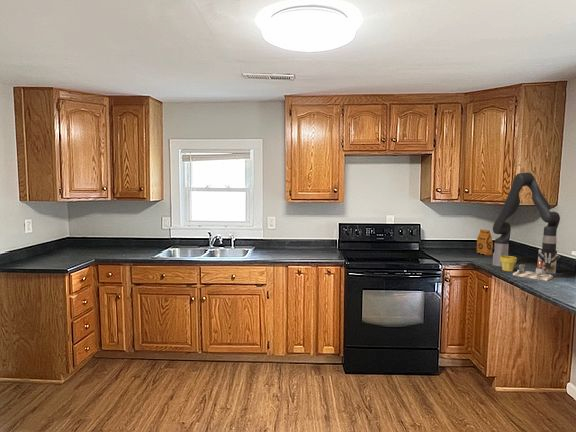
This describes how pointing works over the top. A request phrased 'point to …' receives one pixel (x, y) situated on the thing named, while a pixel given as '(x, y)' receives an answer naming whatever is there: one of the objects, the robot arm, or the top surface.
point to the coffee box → (553, 265)
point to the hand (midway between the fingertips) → (547, 268)
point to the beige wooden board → (531, 274)
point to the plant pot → (508, 262)
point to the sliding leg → (539, 267)
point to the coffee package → (484, 242)
